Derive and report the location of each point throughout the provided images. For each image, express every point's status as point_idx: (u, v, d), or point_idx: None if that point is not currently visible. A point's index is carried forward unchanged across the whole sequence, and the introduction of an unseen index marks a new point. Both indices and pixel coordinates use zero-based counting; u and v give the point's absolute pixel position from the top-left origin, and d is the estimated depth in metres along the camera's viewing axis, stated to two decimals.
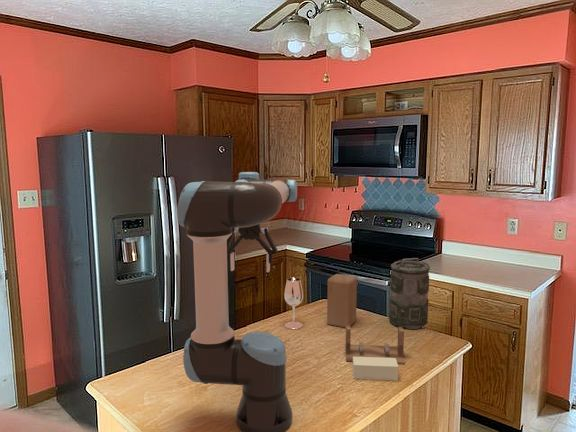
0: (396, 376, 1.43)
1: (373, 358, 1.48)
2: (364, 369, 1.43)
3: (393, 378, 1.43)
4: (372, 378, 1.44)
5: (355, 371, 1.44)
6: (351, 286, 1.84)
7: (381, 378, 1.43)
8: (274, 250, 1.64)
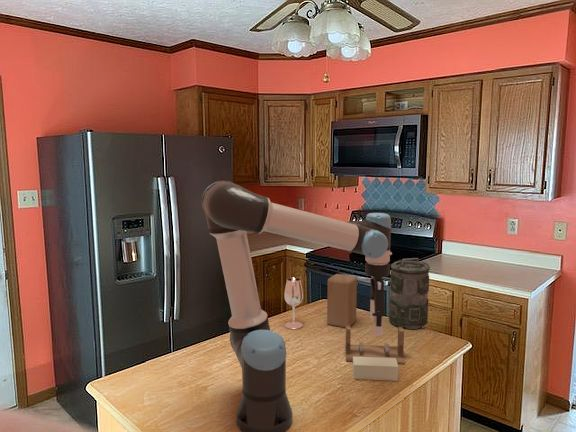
0: (396, 376, 1.43)
1: (373, 358, 1.48)
2: (365, 369, 1.43)
3: (393, 378, 1.43)
4: (372, 378, 1.44)
5: (355, 371, 1.44)
6: (351, 286, 1.84)
7: (381, 378, 1.43)
8: (375, 312, 1.34)
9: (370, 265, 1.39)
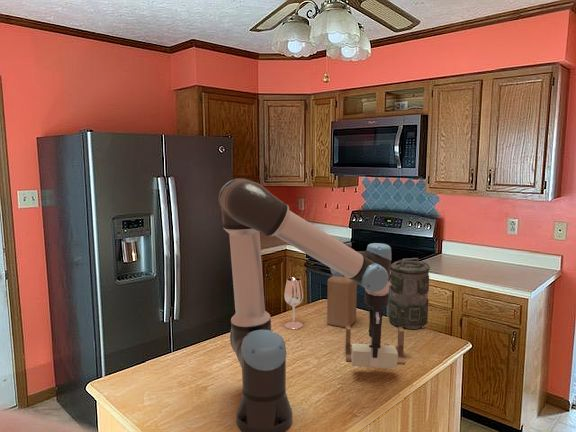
0: (395, 363, 1.42)
1: None
2: (364, 356, 1.43)
3: (392, 366, 1.42)
4: None
5: (354, 357, 1.43)
6: (351, 286, 1.84)
7: (380, 365, 1.43)
8: (372, 344, 1.39)
9: (369, 295, 1.40)
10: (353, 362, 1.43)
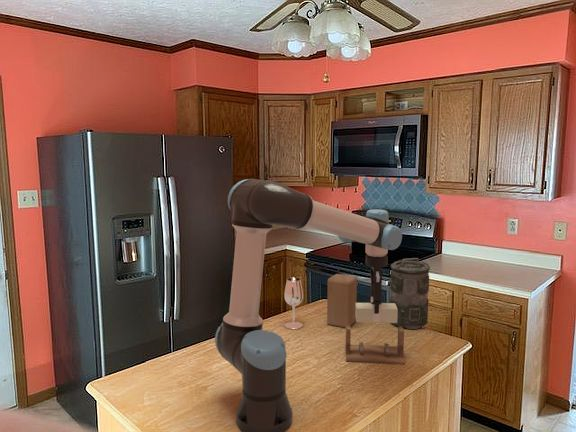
0: (395, 318, 1.56)
1: None
2: (366, 312, 1.56)
3: (392, 320, 1.56)
4: None
5: (358, 314, 1.57)
6: (351, 286, 1.84)
7: (382, 320, 1.56)
8: (373, 301, 1.52)
9: (370, 256, 1.54)
10: (357, 318, 1.57)
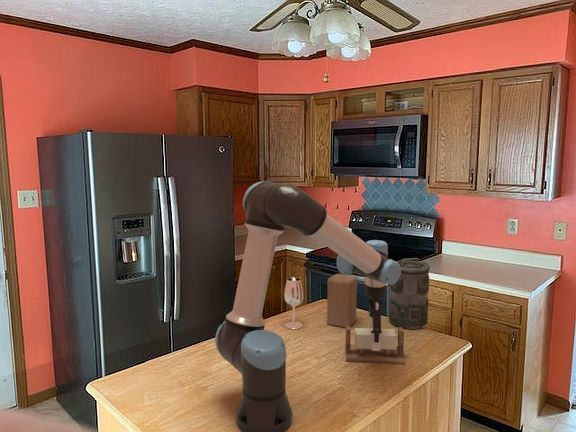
0: (394, 345, 1.57)
1: None
2: (366, 338, 1.58)
3: (391, 347, 1.57)
4: None
5: (357, 340, 1.58)
6: (351, 286, 1.84)
7: (381, 347, 1.58)
8: (373, 330, 1.50)
9: (369, 287, 1.55)
10: (356, 344, 1.58)
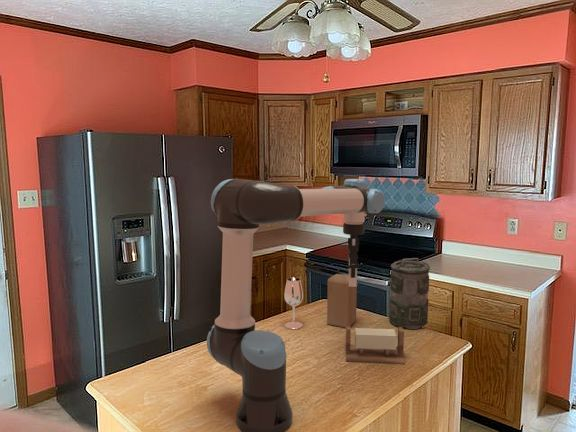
0: (394, 345, 1.57)
1: (373, 329, 1.62)
2: (366, 338, 1.58)
3: (391, 347, 1.57)
4: (373, 347, 1.58)
5: (357, 340, 1.58)
6: None
7: (381, 347, 1.58)
8: (349, 264, 1.52)
9: (347, 224, 1.57)
10: (356, 344, 1.58)
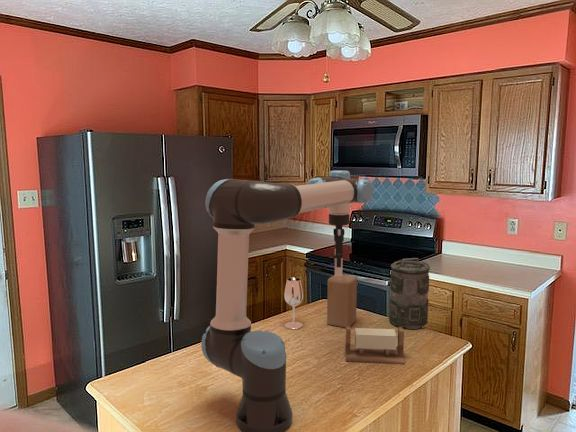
0: (394, 345, 1.57)
1: (373, 329, 1.62)
2: (366, 338, 1.58)
3: (391, 347, 1.57)
4: (373, 347, 1.58)
5: (357, 340, 1.58)
6: (351, 286, 1.84)
7: (381, 347, 1.58)
8: (335, 254, 1.55)
9: (332, 215, 1.60)
10: (356, 344, 1.58)
